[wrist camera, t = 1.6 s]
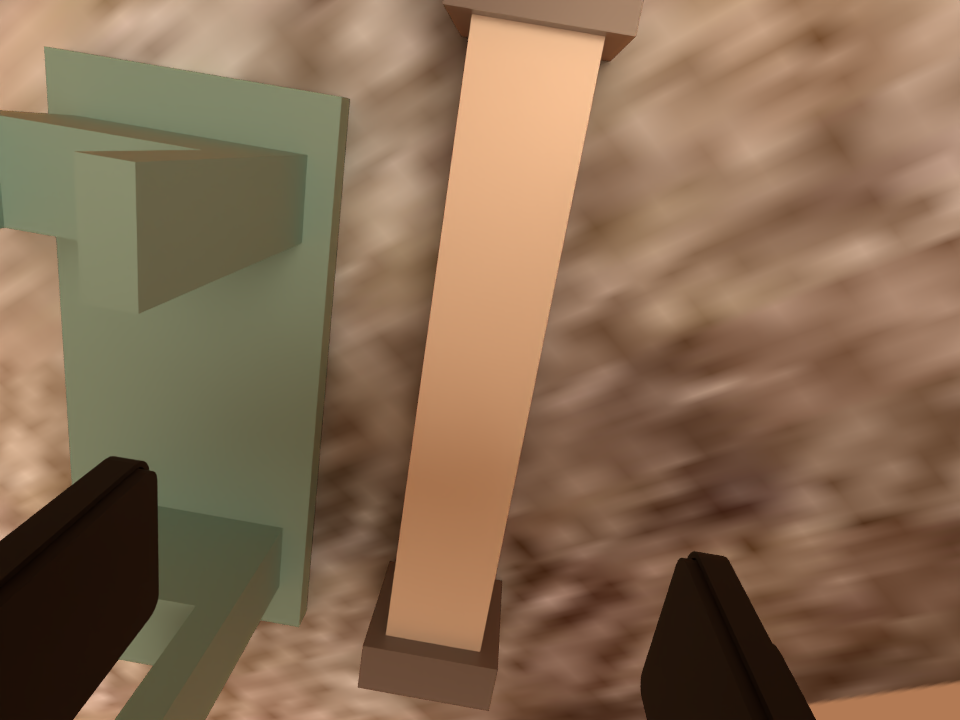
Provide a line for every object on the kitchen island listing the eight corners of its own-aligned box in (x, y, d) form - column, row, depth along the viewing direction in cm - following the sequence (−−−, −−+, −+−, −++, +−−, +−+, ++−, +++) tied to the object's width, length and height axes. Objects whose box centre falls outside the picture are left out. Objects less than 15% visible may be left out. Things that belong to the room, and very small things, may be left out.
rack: (349, 99, 22) (187, 54, 11) (306, 611, 29) (183, 873, 18) (65, 50, 22) (-358, -38, 11) (92, 573, 29) (-149, 812, 18)
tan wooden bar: (624, -7, 20) (655, -55, 15) (494, 616, 28) (488, 710, 24) (470, -33, 20) (453, -88, 15) (385, 597, 28) (357, 687, 24)
